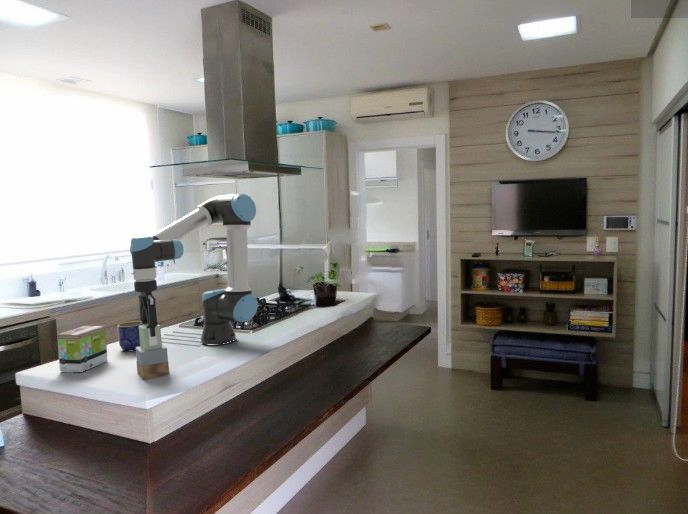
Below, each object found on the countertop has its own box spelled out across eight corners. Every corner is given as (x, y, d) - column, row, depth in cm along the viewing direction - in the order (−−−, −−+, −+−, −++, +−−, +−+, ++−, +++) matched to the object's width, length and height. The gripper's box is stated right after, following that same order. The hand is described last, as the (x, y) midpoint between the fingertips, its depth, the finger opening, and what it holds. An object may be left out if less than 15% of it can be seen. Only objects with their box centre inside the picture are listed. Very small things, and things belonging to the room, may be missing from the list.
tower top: (162, 355, 193) (161, 342, 192) (168, 361, 185) (166, 347, 184) (136, 360, 188) (135, 347, 187) (141, 366, 180) (140, 352, 180)
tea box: (82, 373, 192) (79, 334, 190) (59, 372, 194) (55, 334, 192) (108, 361, 206) (105, 324, 205) (86, 360, 208) (83, 324, 207)
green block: (157, 344, 190) (155, 323, 189) (162, 347, 185) (160, 325, 184) (140, 347, 186) (138, 325, 186) (144, 350, 182) (142, 328, 181)
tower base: (162, 369, 193) (161, 356, 192) (169, 374, 185) (168, 361, 185) (137, 374, 188) (136, 360, 187) (143, 380, 180) (142, 366, 180)
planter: (150, 348, 224) (148, 322, 222) (126, 354, 216) (123, 327, 215) (139, 344, 231) (137, 319, 230) (115, 350, 223) (112, 324, 222)
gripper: (127, 278, 189) (133, 340, 191) (141, 283, 173) (146, 350, 175) (148, 276, 193) (153, 336, 196) (163, 281, 177) (169, 346, 180)
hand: (150, 343), depth 185 cm, fingers open, 6 cm apart
